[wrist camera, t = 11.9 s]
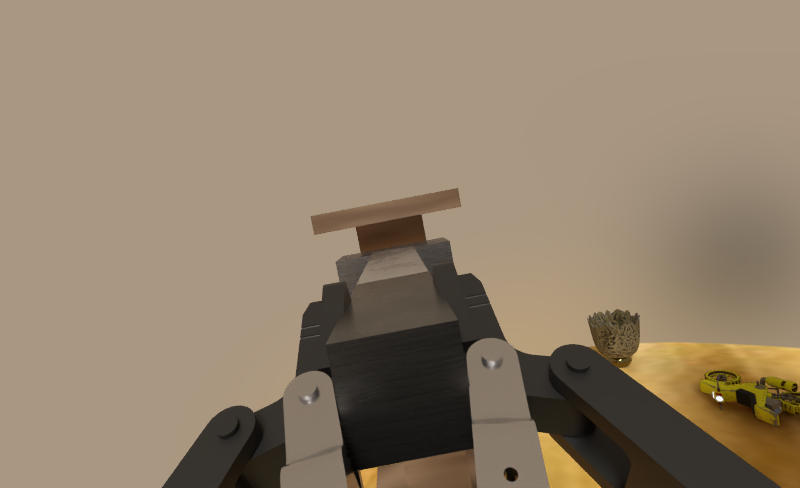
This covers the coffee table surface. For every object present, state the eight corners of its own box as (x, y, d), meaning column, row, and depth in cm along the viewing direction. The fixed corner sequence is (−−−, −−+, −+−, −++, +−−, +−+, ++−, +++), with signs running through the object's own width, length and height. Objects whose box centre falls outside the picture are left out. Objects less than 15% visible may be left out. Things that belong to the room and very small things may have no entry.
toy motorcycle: (829, 386, 46) (787, 408, 44) (833, 419, 46) (792, 443, 44) (715, 355, 57) (678, 372, 55) (719, 382, 58) (682, 400, 56)
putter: (588, 427, 10) (568, 299, 9) (243, 492, 10) (214, 365, 9) (449, 274, 34) (442, 237, 33) (349, 293, 34) (342, 256, 33)
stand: (534, 551, 37) (470, 185, 34) (375, 581, 37) (298, 218, 34) (495, 456, 51) (447, 191, 48) (380, 478, 51) (325, 215, 48)
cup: (585, 361, 71) (577, 316, 71) (623, 351, 73) (617, 306, 72) (614, 378, 64) (606, 327, 63) (657, 366, 65) (650, 316, 65)
